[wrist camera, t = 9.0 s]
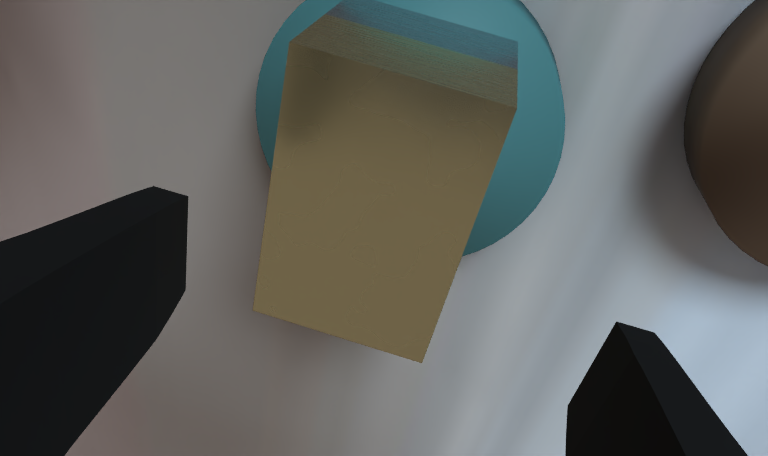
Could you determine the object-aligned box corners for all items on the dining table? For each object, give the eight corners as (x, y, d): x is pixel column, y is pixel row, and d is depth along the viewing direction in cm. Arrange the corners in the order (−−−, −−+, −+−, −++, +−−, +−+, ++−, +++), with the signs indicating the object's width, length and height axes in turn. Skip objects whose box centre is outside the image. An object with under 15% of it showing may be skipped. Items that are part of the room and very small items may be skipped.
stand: (608, 164, 19) (617, 194, 17) (374, 265, 22) (362, 297, 21) (471, -115, 15) (465, -113, 14) (224, 57, 19) (196, 75, 18)
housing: (443, 253, 19) (422, 363, 15) (310, 213, 19) (252, 310, 15) (518, 41, 15) (517, 107, 11) (351, -7, 16) (289, 41, 11)
